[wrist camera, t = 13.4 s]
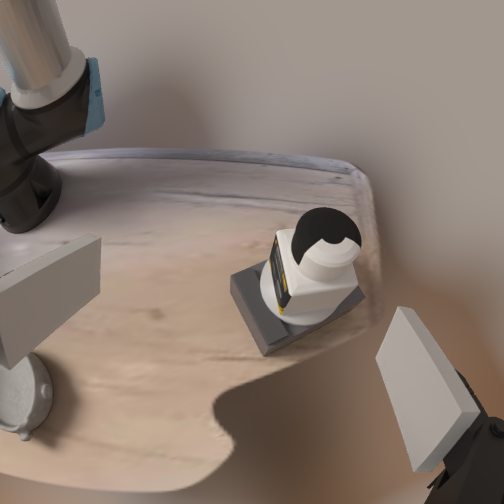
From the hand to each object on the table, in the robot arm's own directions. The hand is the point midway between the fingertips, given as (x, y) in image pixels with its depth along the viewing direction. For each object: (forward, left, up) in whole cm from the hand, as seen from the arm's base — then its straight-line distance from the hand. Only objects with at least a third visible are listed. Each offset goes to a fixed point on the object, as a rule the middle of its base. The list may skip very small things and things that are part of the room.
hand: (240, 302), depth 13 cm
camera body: (-5, +12, -30) cm, 32 cm away
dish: (-8, -31, -30) cm, 44 cm away
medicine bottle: (-5, +12, -22) cm, 26 cm away
